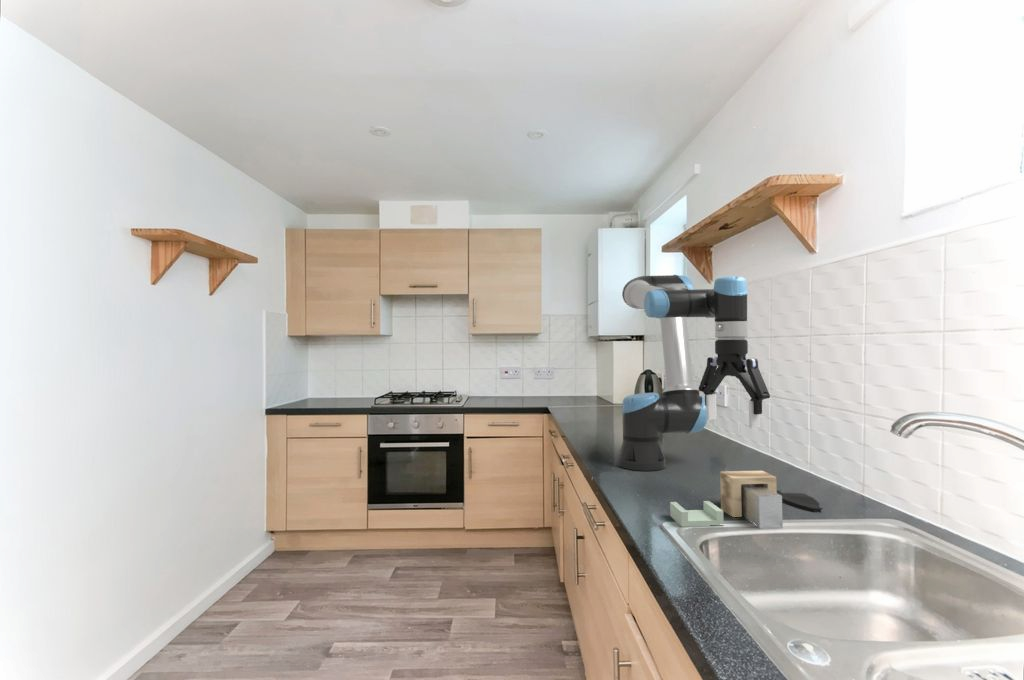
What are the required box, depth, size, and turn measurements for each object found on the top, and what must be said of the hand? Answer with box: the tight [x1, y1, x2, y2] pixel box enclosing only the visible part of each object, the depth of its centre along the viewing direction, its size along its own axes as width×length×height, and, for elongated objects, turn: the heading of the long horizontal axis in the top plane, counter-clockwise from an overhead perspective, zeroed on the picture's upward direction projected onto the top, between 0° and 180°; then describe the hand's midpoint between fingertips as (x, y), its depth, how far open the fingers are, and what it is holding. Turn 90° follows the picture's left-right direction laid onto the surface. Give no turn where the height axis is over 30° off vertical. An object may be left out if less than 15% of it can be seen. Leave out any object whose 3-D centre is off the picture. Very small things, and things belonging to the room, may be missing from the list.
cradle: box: [669, 500, 724, 528], centre depth 111 cm, size 7×9×3 cm
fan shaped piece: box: [777, 489, 823, 513], centre depth 122 cm, size 8×14×2 cm, turn 172°
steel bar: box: [741, 484, 784, 530], centre depth 115 cm, size 17×5×7 cm, turn 2°
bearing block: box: [719, 470, 778, 518], centre depth 116 cm, size 6×10×9 cm, turn 92°
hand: (732, 423), depth 125 cm, fingers open, 13 cm apart
